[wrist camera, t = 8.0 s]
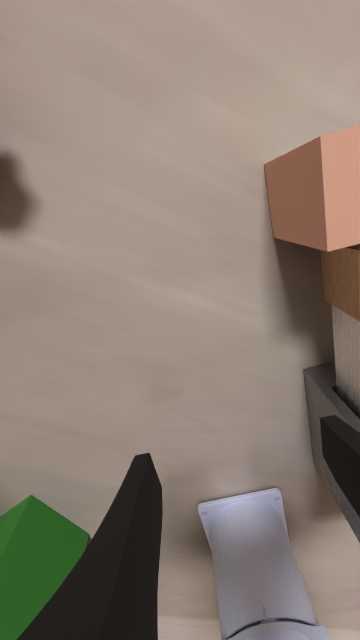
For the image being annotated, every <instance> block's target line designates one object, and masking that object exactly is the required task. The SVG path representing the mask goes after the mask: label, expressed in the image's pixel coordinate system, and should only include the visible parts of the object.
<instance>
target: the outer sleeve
mask: <svg viewBox="0 0 360 640" xmlns="http://www.w3.org/2000/svg"><path fill="white" fill-rule="evenodd" d="M304 378H305V387H306V396H307V405H308V414H309V423H310V432H311V442H312V451H313V460H314V463H315V465H316V466H317V468H318V470H319V472H320V474H321V475H322V477H323V479H324V481H325V482H326V484H327V486H328V488H329V489H330V491H331V493H332V495H333V496H334V498H335V500H336V502H337V504H338V505H339V507H340V509H341V511H342V512H343V514H344V516H345V518H346V519H347V521H348V523H349V525H350V527H351V528H352V530H353V532H354V534H355V535H356V537H357V539H358V541H359V542H360V518H359V516H358V515H357V513H356V512H355V510H354V509H353V507H352V505H351V504H350V502H349V501H348V499H347V498H346V496H345V495H344V493H343V492H342V490H341V488H340V487H339V485H338V484H337V482H336V481H335V479H334V477H333V475H332V473H331V471H330V469H329V467H328V465H327V463H326V461H325V459H324V457H323V454H322V441H321V428H320V418H322V417H326V416H331V415H336V416H337V417H339V418H340V419H342V420H343V421H344V422H346V423H347V424H349V425H350V426H351V427H353V428H354V429H356V430H357V431H358V432H360V420H359V419H358V417H357V416H356V415H355V414H354V413H353V412H352V411H351V410H350V409H349V407H348V406H347V405H346V404H345V403H344V402H343V401H342V400H341V399H340V397H339V396H338V395H337V384H336V368H335V362H333V363H329V364H324V365H320V366H316V367H311V368H307V369H304Z"/></svg>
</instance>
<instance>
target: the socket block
mask: <svg viewBox="0 0 360 640" xmlns="http://www.w3.org/2000/svg"><path fill="white" fill-rule="evenodd" d="M264 167H265V175H266V183H267V191H268V198H269V206H270V214H271V222H272V229H273V237H274V238H277V239H281V240H285V241H289V242H293V243H296V244H300V245H304V246H308V247H312V248H315V249H319V250H323V251H327V252H329V251H333V250H337V249H340V248H344V247H348V246H352V245H356V244H360V125H359V126H356V127H352V128H349V129H345V130H341V131H338V132H334V133H331V134H327V135H324V136H320V137H318V138H316V139H314V140H312V141H310V142H308V143H306V144H304V145H302V146H300V147H298V148H296V149H294V150H292V151H290V152H288V153H286V154H284V155H282V156H280V157H278V158H276V159H274V160H272V161H270V162H268V163H266V164H264Z"/></svg>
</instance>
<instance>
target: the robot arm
mask: <svg viewBox="0 0 360 640" xmlns="http://www.w3.org/2000/svg"><path fill="white" fill-rule="evenodd" d="M320 428H321V441H322V454H323V457H324V459H325V461H326V463H327V465H328V467H329V469H330V471H331V473H332V475H333V477H334V479H335V481H336V482H337V484H338V485H339V487H340V488H341V490H342V492H343V493H344V495H345V496H346V498H347V499H348V501H349V502H350V504H351V505H352V507H353V509H354V510H355V512H356V513H357V515H358V516H359V518H360V432H358V431H357V430H356V429H354V428H353V427H351V426H350V425H349V424H347V423H346V422H344V421H343V420H342V419H340V418H339V417H337V416H336V415H331V416H326V417H322V418H320ZM197 508H198V513H199V516H200V519H201V522H202V525H203V528H204V531H205V534H206V537H207V540H208V543H209V546H210V549H211V552H212V561H213V569H214V578H215V586H216V595H217V603H218V612H219V620H220V629H221V638H222V640H330V639H329V636H328V633H327V630H326V628H325V626H324V625H321V626H319V623H318V620H317V617H316V615H315V612H314V609H313V606H312V603H311V601H310V598H309V595H308V592H307V589H306V587H305V584H304V581H303V578H302V575H301V573H300V570H299V567H298V564H297V561H296V558H295V556H294V553H293V550H292V547H291V544H290V541H289V536H288V530H287V524H286V519H285V513H284V507H283V501H282V496H281V492H280V490H279V489H278V488H272V489H267V490H262V491H257V492H252V493H247V494H242V495H237V496H232V497H227V498H222V499H218V500H213V501H208V502H203V503H200V504H198V506H197ZM162 515H163V512H162V486H161V484H160V481H159V478H158V475H157V473H156V470H155V467H154V464H153V461H152V459H151V456H150V453H146V454H141V455H136V456H135V457H134V459H133V461H132V463H131V466H130V468H129V470H128V472H127V474H126V477H125V479H124V481H123V483H122V485H121V487H120V489H119V491H118V493H117V495H116V497H115V499H114V501H113V503H112V505H111V507H110V509H109V510H108V512H107V514H106V516H105V518H104V519H103V521H102V523H101V525H100V527H99V528H98V530H97V532H96V533H95V535H94V537H93V538H92V540H91V542H90V543H89V545H88V546H87V548H86V549H85V551H84V552H83V554H82V556H81V557H80V559H79V560H78V562H77V563H76V564H75V566H74V567H73V569H72V570H71V571H70V573H69V574H68V576H67V577H66V579H65V580H64V581H63V583H62V584H61V585H60V587H59V588H58V589H57V591H56V592H55V593H54V595H53V596H52V597H51V598H50V600H49V601H48V602H47V603H46V605H45V606H44V607H43V608H42V610H41V611H40V612H39V613H38V615H37V616H36V617H35V618H34V620H33V621H32V622H31V623H30V624H29V626H28V627H27V628H26V629H25V630H24V632H23V633H22V634H21V635H20V636H19V637H18V638H17V639H16V640H158V631H157V590H158V571H159V558H160V544H161V530H162Z"/></svg>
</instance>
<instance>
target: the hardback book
mask: <svg viewBox="0 0 360 640" xmlns="http://www.w3.org/2000/svg"><path fill="white" fill-rule="evenodd" d="M88 537H89V534H88V533H87V532H85V531H84V530H82V529H81V528H79V527H78V526H77V525H75V524H74V523H72V522H71V521H69V520H68V519H66V518H65V517H63V516H62V515H60V514H59V513H57V512H56V511H54V510H53V509H51V508H50V507H49V506H47V505H46V504H44V503H43V502H41V501H40V500H38V499H37V498H35V497H34V496H32V495H30V496H29V497H28V498H26V499H25V500H23V501H22V502H21V503H19V504H18V505H16V506H15V507H14V508H12V509H11V510H10V511H8V512H7V513H5V514H4V515H3V516H1V517H0V640H16V639H17V638H18V637H19V636H20V635H21V634H22V633H23V632H24V630H25V629H26V628H27V627H28V626H29V624H30V623H31V622H32V621H33V620H34V618H35V617H36V616H37V615H38V613H39V612H40V611H41V610H42V608H43V607H44V606H45V605H46V603H47V602H48V601H49V600H50V598H51V597H52V596H53V595H54V593H55V592H56V591H57V589H58V588H59V587H60V585H61V584H62V583H63V581H64V580H65V579H66V577H67V576H68V574H69V573H70V571H71V570H72V569H73V567H74V566H75V564H76V563H77V562H78V560H79V559H80V557H81V556H82V554H83V552H84V551H85V549H86V545H87V541H88Z"/></svg>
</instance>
